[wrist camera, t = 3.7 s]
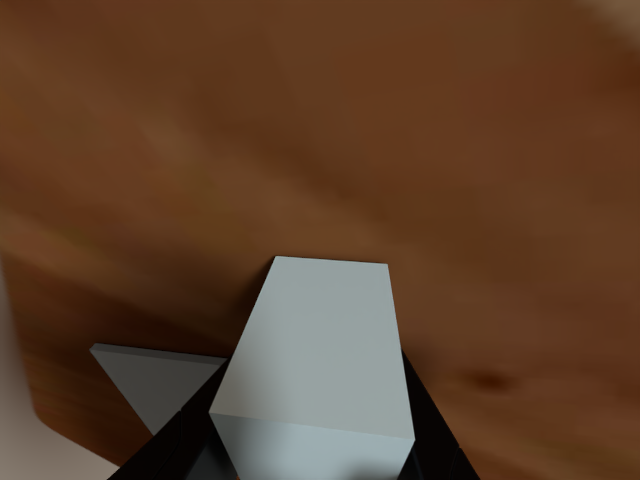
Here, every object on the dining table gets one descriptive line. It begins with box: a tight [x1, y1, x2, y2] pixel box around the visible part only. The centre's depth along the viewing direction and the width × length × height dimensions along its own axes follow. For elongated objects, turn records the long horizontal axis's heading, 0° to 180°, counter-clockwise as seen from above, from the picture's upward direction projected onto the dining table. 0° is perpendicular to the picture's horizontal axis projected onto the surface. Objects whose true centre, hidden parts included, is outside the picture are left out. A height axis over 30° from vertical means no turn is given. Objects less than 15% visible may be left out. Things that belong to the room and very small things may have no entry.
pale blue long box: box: [209, 256, 415, 480], centre depth 11 cm, size 15×4×5 cm, turn 0°
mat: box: [89, 343, 227, 436], centre depth 17 cm, size 14×8×1 cm, turn 0°
